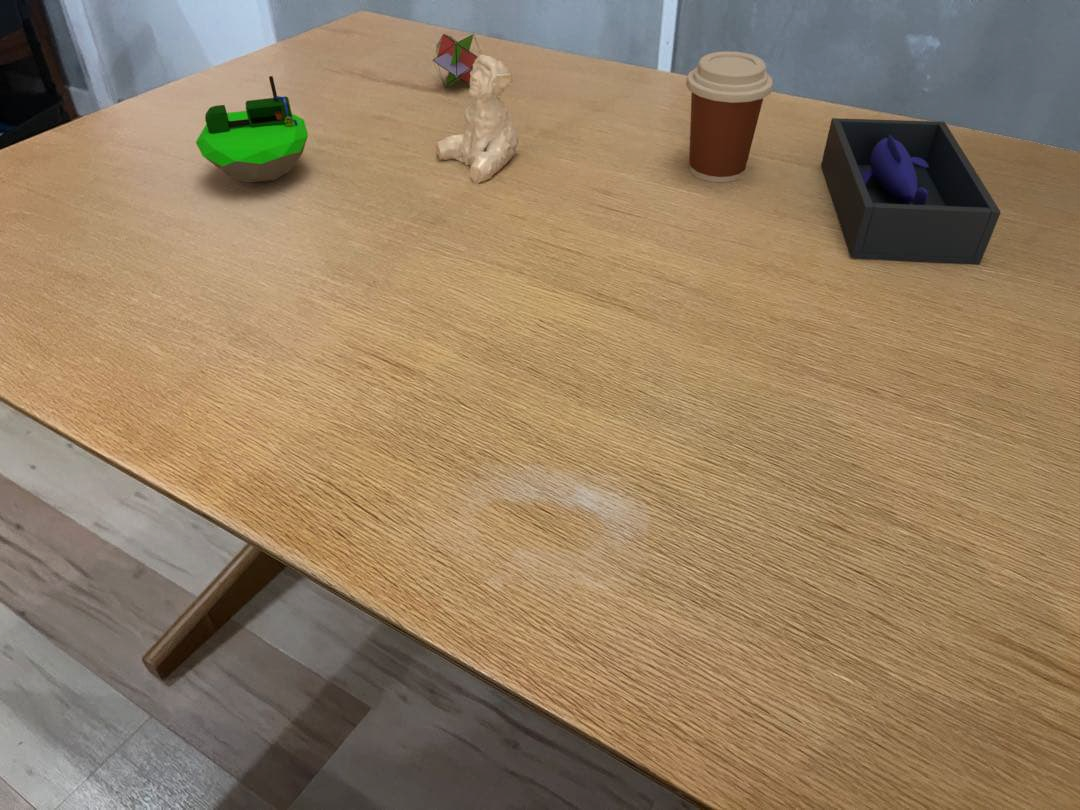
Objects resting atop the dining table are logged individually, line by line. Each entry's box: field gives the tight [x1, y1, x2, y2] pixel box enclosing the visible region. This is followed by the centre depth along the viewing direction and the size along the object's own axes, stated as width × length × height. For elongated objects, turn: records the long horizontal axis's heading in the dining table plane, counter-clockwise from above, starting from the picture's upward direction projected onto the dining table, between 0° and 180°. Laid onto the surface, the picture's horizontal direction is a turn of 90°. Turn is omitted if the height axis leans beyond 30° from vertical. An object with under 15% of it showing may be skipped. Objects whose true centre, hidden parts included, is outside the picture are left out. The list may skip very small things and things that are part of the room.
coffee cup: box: [685, 50, 774, 183], centre depth 90 cm, size 9×9×12 cm
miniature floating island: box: [195, 75, 309, 183], centre depth 91 cm, size 12×12×11 cm
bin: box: [820, 117, 1002, 265], centre depth 85 cm, size 12×20×6 cm, turn 174°
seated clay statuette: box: [435, 53, 520, 184], centre depth 93 cm, size 10×9×12 cm
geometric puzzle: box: [431, 33, 483, 89], centre depth 112 cm, size 7×7×8 cm
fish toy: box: [861, 135, 929, 205], centre depth 84 cm, size 15×8×7 cm, turn 0°
